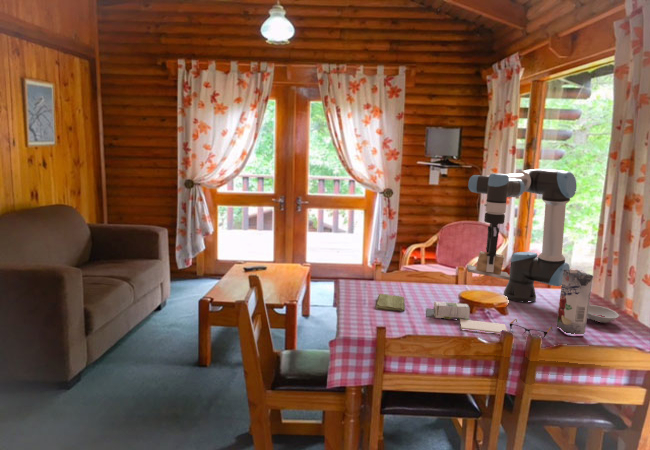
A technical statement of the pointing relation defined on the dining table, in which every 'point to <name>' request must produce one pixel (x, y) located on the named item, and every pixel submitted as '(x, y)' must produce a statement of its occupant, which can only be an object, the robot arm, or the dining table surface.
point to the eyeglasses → (528, 329)
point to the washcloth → (390, 302)
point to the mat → (430, 313)
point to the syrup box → (451, 310)
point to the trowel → (483, 264)
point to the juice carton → (574, 301)
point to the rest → (482, 326)
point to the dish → (601, 313)
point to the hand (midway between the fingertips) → (489, 270)
